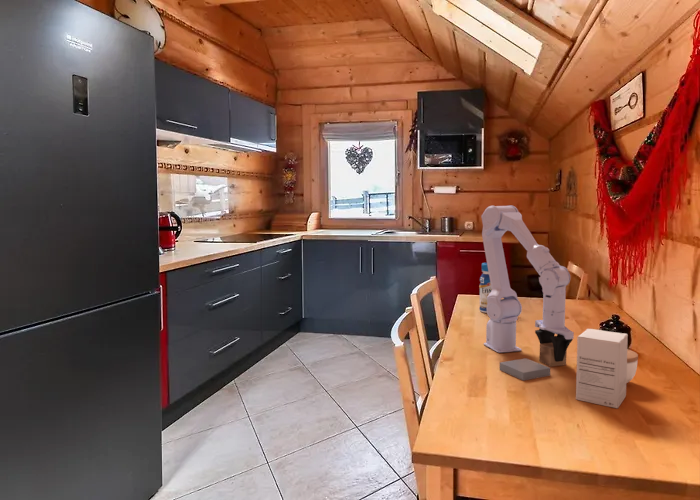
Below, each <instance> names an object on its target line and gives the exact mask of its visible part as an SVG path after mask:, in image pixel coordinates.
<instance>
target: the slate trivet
mask: <svg viewBox="0 0 700 500" xmlns="http://www.w3.org/2000/svg"><path fill="white" fill-rule="evenodd" d="M499 371H501V372H503V373H506V374H507V375H510V376H512V377H514V378H516V379H519V380H521V381H528V380H534V379H538V378H544V377H549V376H551V367H550V366H548V365H545V364H542V363H539V362H536V361H534V360H531V359H529V358H526V357H525V358H520V359H514V360H508V361H502V362H499Z"/></svg>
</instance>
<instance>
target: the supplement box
mask: <svg viewBox="0 0 700 500" xmlns="http://www.w3.org/2000/svg"><path fill="white" fill-rule="evenodd" d="M628 337H629V335H628V333H625V332H624V333H622V332H616V331H615V332H614V331H610V330H609V331H608V330H601V329H595V328H586V329H585V330H584V331H583V332H582V333H580V334H579V335H578V336H577V337H576V338H577V341H576V343H577V344H576V346H577V347H576V349H577V351H576V377H575V379H576V382H575V384H576V385H575V386H576V387H575V400H577V401H581V402H586V403H590V404H596V405H600V406H605V407H608V408H613V409H619V407H620V406H621V404H622V403H623V402H624V400H625V398H626V396H627V383H626V376H627V349H628V342H629V341H628Z"/></svg>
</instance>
